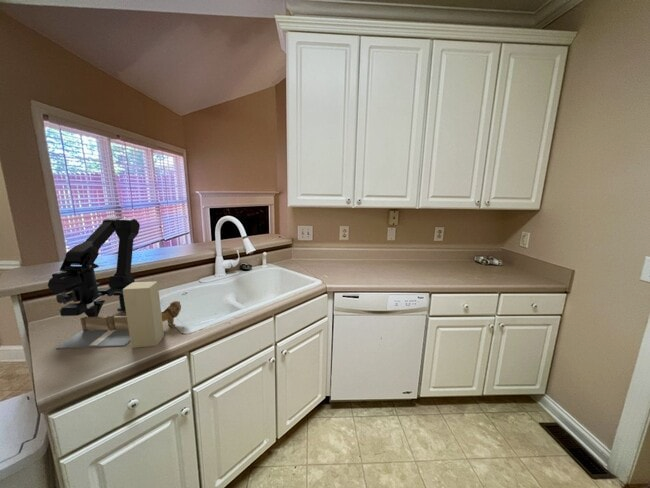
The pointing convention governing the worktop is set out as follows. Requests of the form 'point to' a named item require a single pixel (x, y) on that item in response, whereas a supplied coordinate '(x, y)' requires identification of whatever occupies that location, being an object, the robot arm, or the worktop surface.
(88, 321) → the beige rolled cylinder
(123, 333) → the board
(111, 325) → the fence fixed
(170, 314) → the lion figurine
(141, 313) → the toy refrigerator
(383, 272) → the worktop surface
